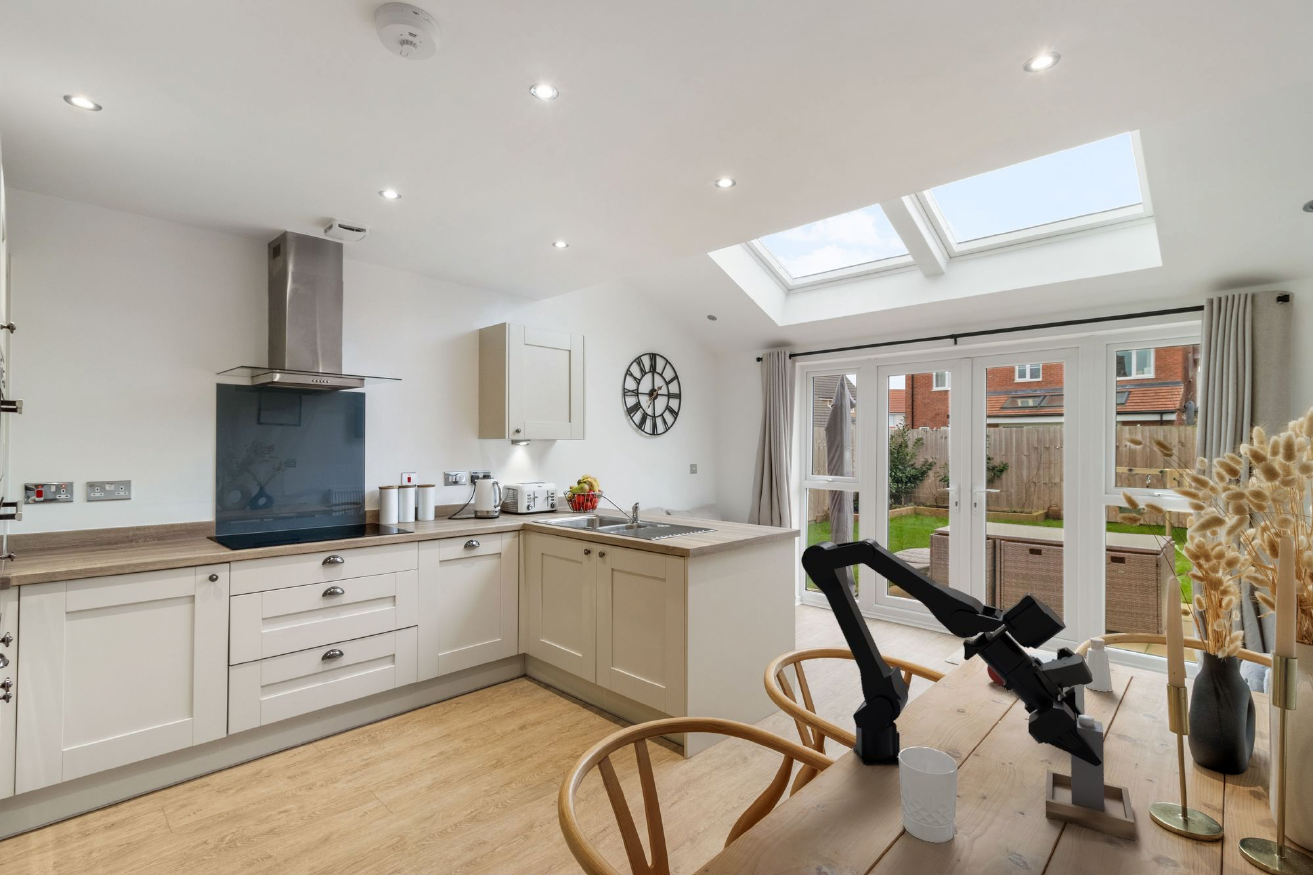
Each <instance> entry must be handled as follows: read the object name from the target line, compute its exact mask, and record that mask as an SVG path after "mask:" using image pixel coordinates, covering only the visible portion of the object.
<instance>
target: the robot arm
mask: <svg viewBox="0 0 1313 875" xmlns="http://www.w3.org/2000/svg"><path fill="white" fill-rule="evenodd" d="M800 560H801V565H802V567H803V570H804V571H805V572H806V574H807V575H808V577H809V579H810V580H811V581H812V583H813V584H814V585H815V586H816V587H817V589H819V591H821V592H822V594H824V596H825V597H826V600H827V602H828V603H829V606H830V608H831V611H832V613H833V616H834V618H835V619H836V621H837V624H838V626H839V627H840V630H841V632H842V634H843V637H844V639H845V641H846V643H847V646H848V647H849V650H850V652H851V654H852V657H853V659H854V661H855V663H856V665H857V667H858V670H859V676H860V682H861V691H862V692H861V693H862V694H863V698H864V700H863V701H862V702H861V704H860V705H859V707H858V708H857V709H856V711H854V713H853V715H852V717H853V720H854V724H855V744H853V745H852V749H853V750H854V752H855V753H856V755H857V756H858V758H859V759H860V761H861V762H862V764H863V765H865V766H881V765H882V766H885V765H887V766H888V765H891V766H893V765H894V766H896V765H897V766H899V759H898V754H899V752H900V751H901V750H900V748H901V743H900V740H901V739H900V732H899V731H898V729H897V728H898V725H897V724H896V723H895V721H896V720H897V719H898V718H899V717H900V715H901V714H902V712H903V710H904V709H905V707H906V705H907V704H908V700H909V692H908V689H909V688H910V685H909V684H908V683H907V682H906V681H905V679H904V677H903V674H902V671H901V668H900V666H899V665H895V666H893V667H891V666H890V665H889V664H888V663H887V662H886V661H885V660H884V658H883V657H882V654H881V653H880V650H879V648H878V647H877V644H876V642H875V640H874V638H873V635H872V634H871V633H872V632H870V629H869V627H868V625H867V622H866V621H865V618H864V616H863V614H862V612H861V610H860V608H859V606H858V603H857V601H856V600H855V597H854V595H853V593H852V591H851V589H850V588H851V587H849V581H848V575H847V574H848V573H847V568H848V567H851V566H855V565H860V564H862V565H865V566H867V567H869V568H870V569H872V570H873V571H874V572H875V573H877V574H879V575H880V576H882V577H883V578H884V579H886V580H888V582H891V584H893V585H895V586H896V587H898V588H900V590H902V591H904V592H905V593H906V594H908V595H910V596H911V597H913V598H914V599H916V601H917V600H918V601H919V602H920V603H921V604H922V605H924V607H926V609H927V610H929V612H930V613H931V614H932V615H933V616H934V618H935V619H936V620H937V621H938V622H939V623H940V624H941V625H942V626H943V627H945V628H946V629H947V630H948V631H949V632H950V633H951V634H952V635H953V636H955V637H958V638H961V639H964V641H963V643H962V645H963V650H964V652H963V653H964V654H963V655H964V656H963V659H964V660H965V661H969V660H971V658H973V657H974V656H976V655H978V656H979V657H980V658H981V659H982V660H983V661H984V662H985V664H986V665H987V667H988V666H989V667H990V668H991V669H992V670H993V671H994V672H995V673H996V674H997V675H998V676H999V677H1000V678H1001V679H1002V680H1003V681H1004V684H1003V685H1002V687H1003V688H1004V689H1005V690H1007V692H1010V691H1012V692H1013V693H1014V694H1015V696H1017V697H1018V698H1019V699H1020V701H1022V702H1023V704H1024V707H1023V708H1024V710H1025V711H1026V712H1027V713H1028V715H1029V716H1028V717H1029V718H1028V723H1027V724H1028V731H1027V732H1028V734H1029V735H1030V736H1031V737H1032V738H1033V739H1034V740H1035V742H1037V744H1039V745H1041V744H1046V745H1047V744H1049V745H1051V746H1053V747H1055V748H1057V749H1060V750H1062V751H1064V752H1067V753H1068V754H1070V755H1071V754H1072V755H1074V756H1076V757H1078V758H1080V759H1082V760H1084V761H1086V762H1088V763H1090V764H1092V765H1094V766H1099V765H1100V764H1102V761H1101V759H1100V758H1099V757H1098V755H1097V754H1096V752H1095V751H1094V750H1093V748H1092V747H1091V746H1090V744H1089V743H1088V742H1087V740H1086V739H1085V738H1084V736H1083V735H1082V734H1081V732H1080V731H1079V730H1078V728H1077V718H1079V717H1078V716H1079V715H1083V714H1082V712H1081V711H1080V709H1079V707H1078V706H1077V704H1076V693H1075V687H1072V686H1075V685H1079V684H1082V685H1084V686H1085V685H1086V684H1089V683H1091V682H1093V679H1092V673H1091V671H1090V669H1089V667H1088V666H1087V664H1086V660H1085V658H1084V656H1083V654H1081V653H1080V652H1076V653H1075V652H1074V651H1072V650H1071V649H1070V648H1069V647H1068V646H1065V647H1061V648H1060V647H1059V648H1057V650H1056V655H1057V659H1056V660H1055V659H1052V661H1050V662H1046V663H1043V662H1042V661H1041V660H1040V659H1039V658H1037V657H1036V658H1035V657H1034V656H1033V657H1030V654H1029V653H1027V652H1026V651H1025V650H1024V649H1023V648H1027V649H1029V648H1033V649H1034V650H1036V649H1038V648H1040V647H1041V646H1042V645H1044V644H1045V643H1046V642H1048V641H1049V640H1051V639H1052V638H1053V637H1055V636H1056V635H1058V634H1059V633H1061V632H1062V631H1064V630H1065V629H1066V628H1067V625H1066V624H1065V622H1064V621H1063V619H1062V618H1061V617H1060V616H1059V615H1058V613H1056V612H1055V611H1054V610H1053V609H1052V608H1051V607H1050V606H1049V605H1048V604H1045V603H1044V602H1043V601H1042V600H1040V599H1038V598H1036V597H1035V596H1034V595H1033V594H1032V593H1031V592H1027V593H1026V594H1025V595H1023V596H1022V597H1021V598H1020V600H1018V602H1016V603H1015V604H1013V605H1012V606H1011V607H1010V608H1008V609H1007V610H1006V609H1003V608H999V607H994V606H991V605H986V604H983V603H982V602H981V601H980V600H979V599H977V598H976V597H974V596H972V595H969V594H968V593H965V592H963V591H961V590H959V589H956V588H953V587H949V586H946V585H944V584H941V583H940V582H937V581H935V580H934V579H933V578H931V577H929V576H928V575H926V574H925V573H923V572H922V571H921V570H919V569H917V568H916V567H914V566H913V565H911V564H910V563H908V562H907V561H904V560H903V559H902V558H900V557H898V556H897V555H896V554H894V553H892V552H891V551H889V550H888V549H886V548H885V547H883V546H882V545H880V544H879V542H878V541H876V540H875V539H873V538H864V539H862V540H857V541H855V540H854V541H847V542H842V543H834V542H831V541H830V540H829V541H827V540H823V541H819V542H817V543H814V544H812V545H809V546H808V547H807V548H805V549H804V551H803V552H802V556H801V559H800ZM980 633H981V634H980ZM1008 633H1009V634H1008ZM979 634H980V635H979ZM977 635H978V636H977ZM976 636H977V637H976ZM973 637H975V638H974V639H971V638H973ZM969 638H970V639H969ZM1022 647H1023V648H1022ZM1066 687H1069V688H1070V687H1072V688H1070V689H1069V690H1067V691H1066V690H1065V689H1064V688H1066ZM1036 709H1037V711H1035V710H1036ZM1033 711H1035V712H1034V713H1033V714H1031V715H1030V713H1032V712H1033Z"/></svg>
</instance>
